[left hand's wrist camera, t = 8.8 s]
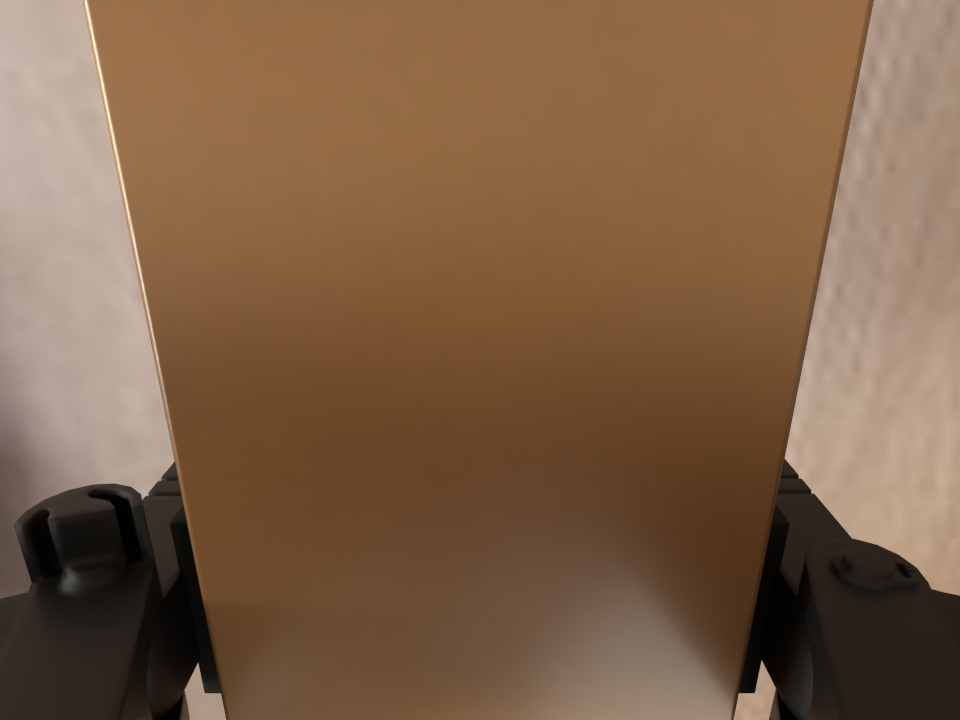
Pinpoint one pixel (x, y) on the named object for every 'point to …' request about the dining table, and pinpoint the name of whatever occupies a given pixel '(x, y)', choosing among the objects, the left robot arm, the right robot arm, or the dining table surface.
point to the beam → (479, 333)
